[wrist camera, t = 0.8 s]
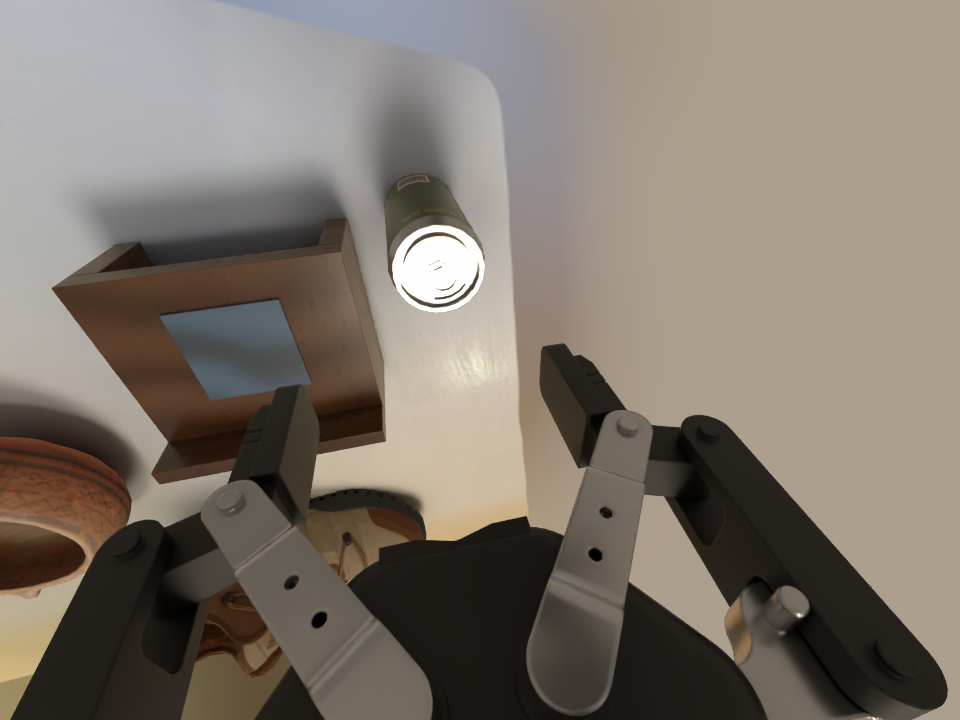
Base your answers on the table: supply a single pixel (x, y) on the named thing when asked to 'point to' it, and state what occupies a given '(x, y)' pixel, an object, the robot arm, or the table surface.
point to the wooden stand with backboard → (235, 343)
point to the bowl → (53, 513)
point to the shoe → (343, 544)
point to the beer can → (431, 245)
